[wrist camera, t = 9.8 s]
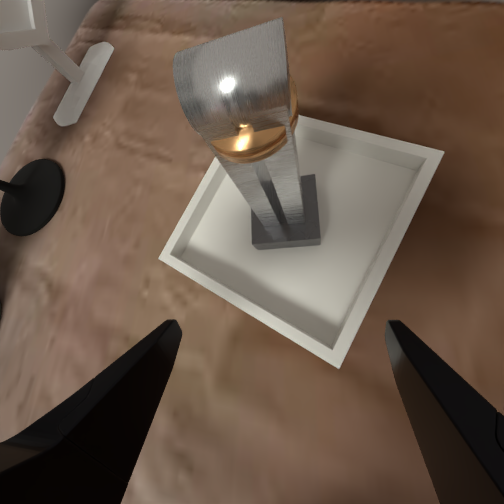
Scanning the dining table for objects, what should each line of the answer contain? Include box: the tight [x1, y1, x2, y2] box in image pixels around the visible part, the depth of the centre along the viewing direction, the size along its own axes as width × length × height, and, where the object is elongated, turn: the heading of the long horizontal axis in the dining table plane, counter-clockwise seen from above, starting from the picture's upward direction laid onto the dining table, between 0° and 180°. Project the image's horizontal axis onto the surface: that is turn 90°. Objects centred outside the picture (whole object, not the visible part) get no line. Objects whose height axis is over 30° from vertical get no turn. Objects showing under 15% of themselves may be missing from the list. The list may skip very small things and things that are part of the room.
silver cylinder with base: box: [173, 17, 321, 250], centre depth 13 cm, size 5×5×14 cm
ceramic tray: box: [158, 115, 444, 369], centre depth 19 cm, size 16×16×2 cm
